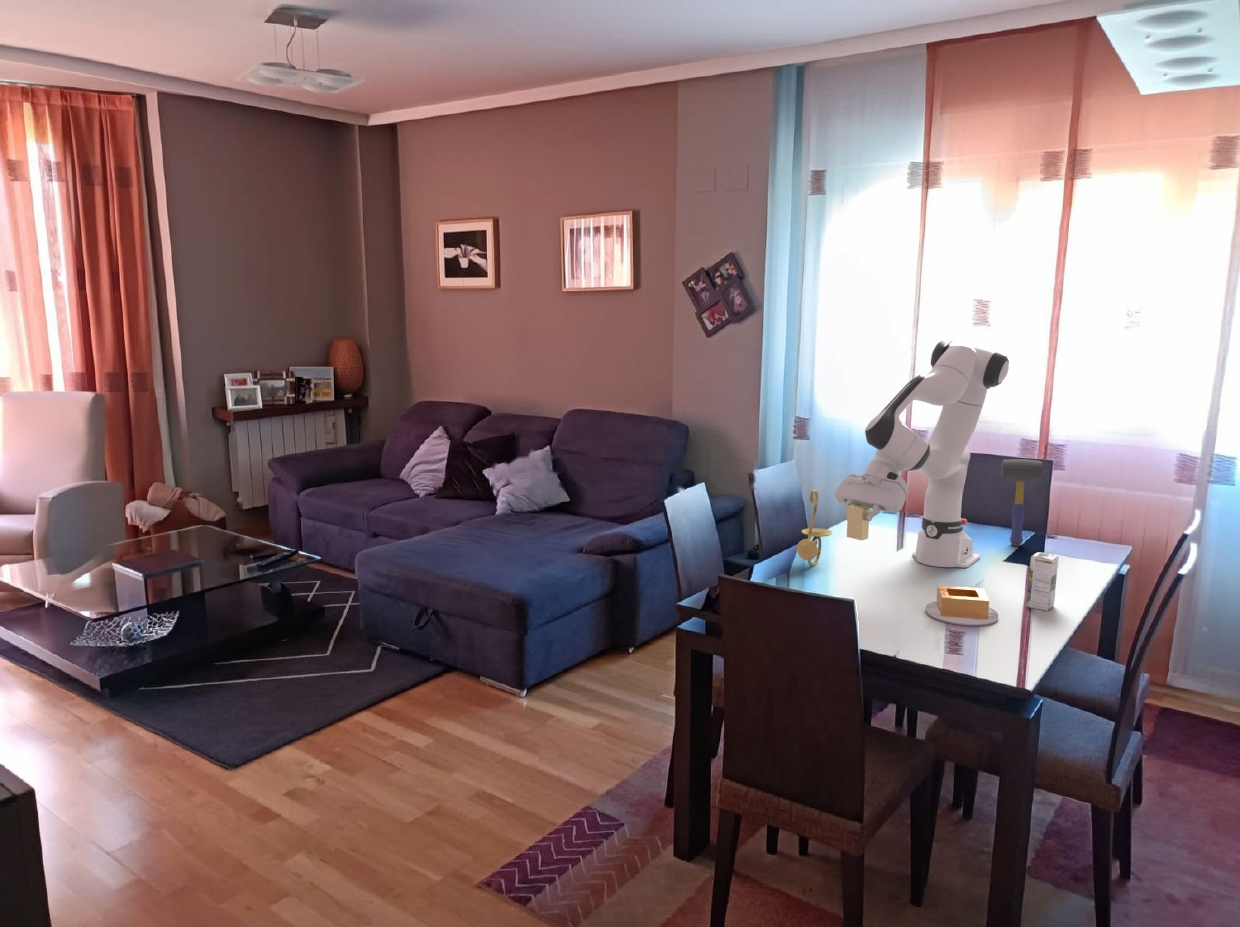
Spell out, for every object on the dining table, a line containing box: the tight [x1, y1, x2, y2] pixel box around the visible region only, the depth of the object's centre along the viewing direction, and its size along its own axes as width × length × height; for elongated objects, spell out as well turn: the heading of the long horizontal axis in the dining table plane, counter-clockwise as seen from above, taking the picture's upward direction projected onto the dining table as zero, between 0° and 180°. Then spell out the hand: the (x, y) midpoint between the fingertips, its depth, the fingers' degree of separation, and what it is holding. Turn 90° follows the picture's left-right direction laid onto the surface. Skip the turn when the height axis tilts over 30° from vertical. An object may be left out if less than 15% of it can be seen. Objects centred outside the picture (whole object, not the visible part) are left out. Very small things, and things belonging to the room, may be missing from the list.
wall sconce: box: [796, 489, 833, 567], centre depth 277 cm, size 14×10×25 cm
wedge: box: [846, 504, 871, 541], centre depth 246 cm, size 4×5×9 cm
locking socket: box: [925, 585, 999, 627], centre depth 233 cm, size 18×18×6 cm
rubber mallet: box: [1000, 458, 1043, 547], centre depth 300 cm, size 12×8×30 cm, turn 74°
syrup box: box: [1025, 551, 1060, 612], centre depth 239 cm, size 6×6×14 cm
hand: (857, 517), depth 245 cm, fingers closed on wedge, 5 cm apart
